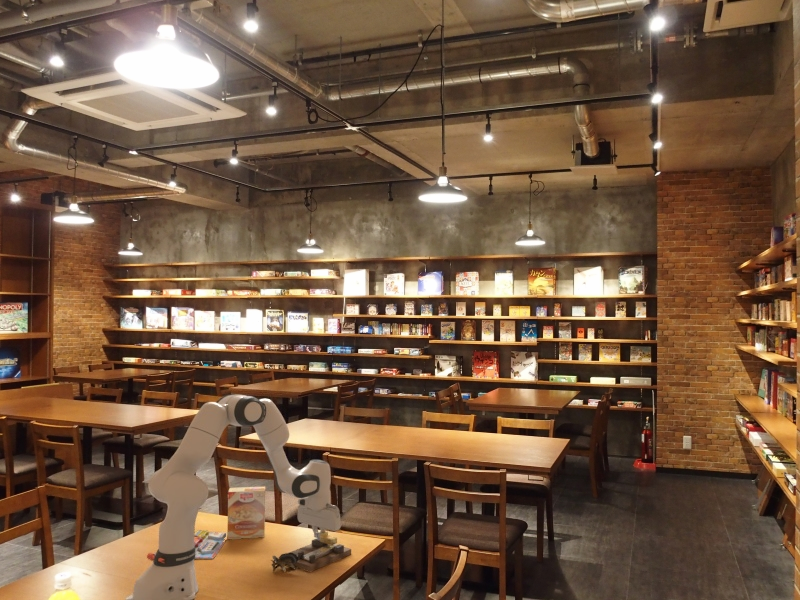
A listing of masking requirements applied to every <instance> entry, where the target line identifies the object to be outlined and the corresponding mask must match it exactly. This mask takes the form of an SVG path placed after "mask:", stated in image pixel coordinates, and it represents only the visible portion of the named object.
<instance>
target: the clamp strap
mask: <svg viewBox="0 0 800 600" xmlns="http://www.w3.org/2000/svg"><path fill="white" fill-rule="evenodd" d="M336 545H337V544H336ZM336 545H335V544H334V545H329V544H328V545H326V546H324V547H321V548H319V549H317V550H315V551H312V552H310V553H308V554H306V555H303V556H302V559H303V560H306V561H309V556H311V555H315V559H317V558H319V557H322V556H324V555H326V554H328V553H330V552H333V551H334V546H336Z"/></svg>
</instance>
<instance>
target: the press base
mask: <svg viewBox="0 0 800 600" xmlns="http://www.w3.org/2000/svg"><path fill="white" fill-rule="evenodd" d="M326 545H328V544H326V543H322V542H320V539H319V538H314V539H312V540H311V543H310V544H307V545H305V546H303V547H300V548H297V549H295V550H292V551H290V552H288V553H294V554H296V555H297V557H298V559H299V560H298V561H297V563H291V564H293V565H294V566H295V567H298V569H300V568H301V570H303V571H306V572H309V573H311V572H314V571H316V570H318V569H320V568H322V567H325V566H327V565H330V564H332V563H335V562H337V561H339V560H341V559H344V558H346V557H348V556H350V555H352V548H350V547H346V546H345V545H344V544H340V543H339V544H337V543H336V544H335V545H336V546H334V551H333V552H330V553H328V554H326V555H324V556H322V557H319V558H317V559H315V555H311V556H309V561H306V560H303V559H302V556H303V555H306V554H308V553H310V552H312V551H315V550H317V549H319V548H321V547H324V546H326Z"/></svg>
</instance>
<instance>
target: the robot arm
mask: <svg viewBox="0 0 800 600" xmlns="http://www.w3.org/2000/svg"><path fill="white" fill-rule="evenodd" d="M229 425H231V426H233V427H245V428H248V427H253V428H254V430H255V433H256V434H257V437H258V439H259V440H260V442H261V444H262V446H263V447H264V450H265V453H266V456H267V457H268V460H269V463H270V464H271V465H270V466H272V467H271V468H272V469H273V473H274V483H275V487H276V488H277V490H278V491H280V492H281V493H285V494H287V495H290V496H292V497H295V498H297V499H298V500H297V503H298V506H297V513H296V514H297V521H298V522H299V523H301V524H306V525H309V526H311V529H312V532H313V537H314V539H317V538H319V539H320V533H322V532H324V531H331V532H336V531H339V530H340V529H341V527H342V522H341V521H342V520H341V514H340V509H339V507H338V506H337V505H334V504H331V501H332V499H331V498H332V497H331V494H332V493H331V488H330V487H331V482H332V481H331V479H332V477H331V476H332V475H331V474H332V473H331V466H330V464H329V462H328V461H325V460H321V459H311V460H309V463H308V464H307V465H305V466H304V467H302V468H301V469H298V468H295V467H294V466H292V465H291V464H290V462H289V460H288V458H287V456H286V452H285V451H284V446H285V445H286V443H288V441H289V438H290V431H289V427H288V424H287V423H286V420H285V418H284V417H283V415H282V412H281V411H280V410H279V409H278V407H277V406H276V404H275V403H274V402H273V400H272V399H269V398H260V399H258V398H257V397H255V396H252V395H244V394H241V393H240V394H237V393H236V394H226V395H223V396H222V397H220V398H219V399H218V400H217V401H208V402H205V403H204V404H203V405H202V406H201V407H200V408H199V410H198V411H197V413H196V414H195V415H194V417H193V419H192V420H191V422H190V424H189V427H188V428H187V431H186V433H185V434H184V437H183V438H182V440H181V443H180V444H179V446H178V448H177V449H176V451H175V452H174V454H173V455H172V456H171V457H170V458H169V460H168V461H166V463H165V464H164V465H163V466H162V467H161V468H160V469H158V470H156V471H155V472H154V473H152V475H151V476H150V478H149V480H148V483H147V486H148V487H147V488H148V492H149V493H150V494H151V496H152V497H153V498H155V500H157V501H159V502H161V503H163V504H166V505H167V511H166V515H165V517H164V520H163V521H162V522H160V524H159V527H158V549H157V550H156V552H155V553H156V555H155V553H153V552H148V553H147V554H146V559H147V560H149V561H152V564H150V566H148V568H147V569H146V570H145V571H144V572H143V573H141V575H140V576H139V577H138V578H137V579H136V580H135V583H134V586H133V590H132V591H133V592H132V594H131V595H128V596H126V597H125V599H124V600H194V599H195V598H196V594H197V593H198V592H199V586H198V582H197V581H198V580H197V577H196V569H195V545H194V533H195V532H196V530H195V529H196V528H195V527H196V526H195V525H196V520H197V517H198V513H199V510H200V509H201V507H203V506H204V504H205V503H206V502H207V499H208V496H209V487H208V484H207V483H206V482H205V480H203V479H201V478H200V476H197V475H196V473H197V471H199V469H200V468H202V467H203V466H205V465H206V464H207V463H209V461H210V460H211V458H212V456H213V454H214V452H215V450H216V447H217V445H218V443H219V442H220V439H221V437H222V434H223V432H224V430H225V429H226V428H227V427H228V426H229ZM318 528H319V529H318ZM319 531H320V532H319Z"/></svg>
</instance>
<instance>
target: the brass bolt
mask: <svg viewBox="0 0 800 600" xmlns="http://www.w3.org/2000/svg"><path fill="white" fill-rule="evenodd" d="M320 542H322V543H326V544H329V545H334V544H336V545H337V544H338V538H337V537H335V536H333V535H329V530H325V531H324V532H322V533H320Z"/></svg>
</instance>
